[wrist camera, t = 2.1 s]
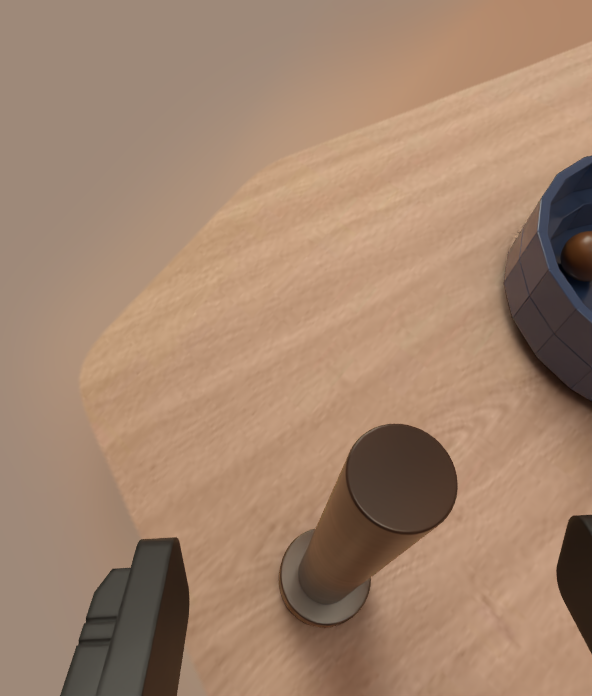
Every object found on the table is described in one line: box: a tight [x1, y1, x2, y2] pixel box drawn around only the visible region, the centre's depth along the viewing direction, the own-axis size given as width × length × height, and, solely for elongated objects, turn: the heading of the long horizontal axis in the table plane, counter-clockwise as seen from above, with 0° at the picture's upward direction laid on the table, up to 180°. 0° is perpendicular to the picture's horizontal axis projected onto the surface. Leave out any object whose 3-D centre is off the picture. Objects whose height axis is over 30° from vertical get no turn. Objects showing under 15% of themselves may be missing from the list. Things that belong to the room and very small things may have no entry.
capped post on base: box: [279, 424, 457, 628], centre depth 19 cm, size 4×4×16 cm
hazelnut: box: [560, 231, 592, 282], centre depth 33 cm, size 3×3×3 cm
